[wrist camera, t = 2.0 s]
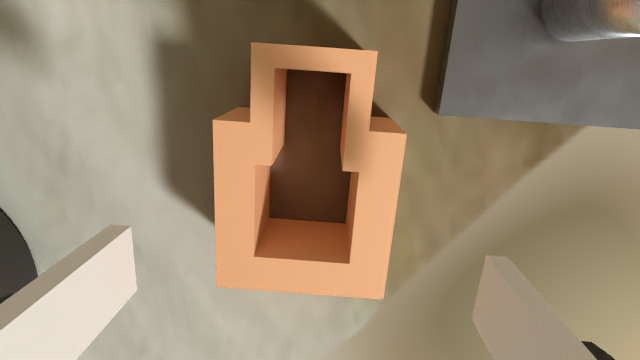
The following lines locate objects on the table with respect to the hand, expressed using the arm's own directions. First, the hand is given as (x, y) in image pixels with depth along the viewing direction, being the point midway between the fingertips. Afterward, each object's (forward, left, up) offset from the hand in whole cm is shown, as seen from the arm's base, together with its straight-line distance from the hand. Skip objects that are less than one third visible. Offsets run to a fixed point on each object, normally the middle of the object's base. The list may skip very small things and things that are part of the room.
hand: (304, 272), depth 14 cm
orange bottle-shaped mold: (0, +2, -10) cm, 10 cm away
